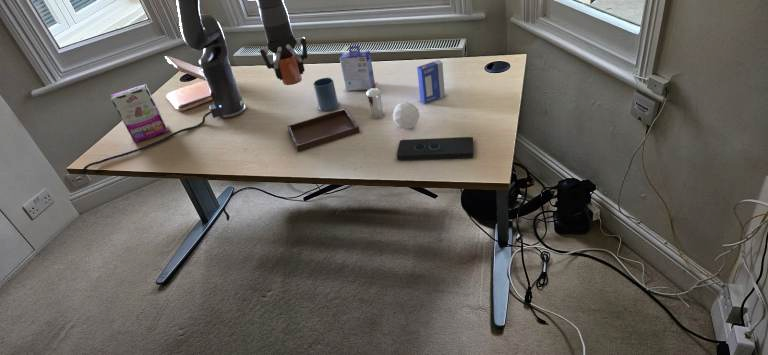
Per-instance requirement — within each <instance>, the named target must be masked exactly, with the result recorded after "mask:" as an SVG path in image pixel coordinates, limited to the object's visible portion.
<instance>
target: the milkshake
mask: <svg viewBox="0 0 768 355" xmlns="http://www.w3.org/2000/svg"><path fill="white" fill-rule="evenodd" d="M378 83H379V82H376V81H375V88H374V87H373V88H372V89H368V90H367V91H366V93H365V94H366V97H367V101H368V104H369V109H370V112H371V116H372V118H373V119H381V118H382V117H383V114H384V113H383V102H382V101H383V100H382V91H381V89H379V88H378V87H379V86H378Z"/></svg>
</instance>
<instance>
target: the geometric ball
mask: <svg viewBox="0 0 768 355" xmlns="http://www.w3.org/2000/svg"><path fill="white" fill-rule="evenodd" d="M392 119H393V123H394V124H395V125H396V126H397V127H398V128H400V129H404V130H409V129H413V128H414V127H415V126H416V125H417V124H418V123H419V119H420V111H419V108H418V107H417V106H416V105H415V104H414V103H411V102H408V101H404V102H400V103H398V104H397V105H396V106H395V107H394V108H393V111H392Z"/></svg>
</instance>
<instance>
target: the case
mask: <svg viewBox="0 0 768 355" xmlns="http://www.w3.org/2000/svg"><path fill="white" fill-rule="evenodd" d="M164 58H165V59H166V60H167V62H168V64H169V65H170V66H173V67H174V68H175V69H176V70H178V71H179V72H180V73H183V74H187V75H190V76H192V77H194V78H197V79H200V80H201V81H198V82H195V83H192V84H189V85H185V86H183V87H181V88H178V89H175V90H171V91H169V92H168V93H167V94H166V99H167V100H168V101H169V102H170V104H171V105H172V106H173V108H174V109H175V111H177V112H184V111H187V110H189V109H193V108H195V107H198V106H200V105H203V104H205V103H208V102H211V101H213V99H212V97H211V94H210V90H209V87H208V84H207V82H206V79H205V77H204V74H203V72H202V69H201V67H199V66H197V65H194V64H191V63H188V62H186V61H183V60H181V59H177V58H175V57H172V56H170V55H165V56H164Z"/></svg>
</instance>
